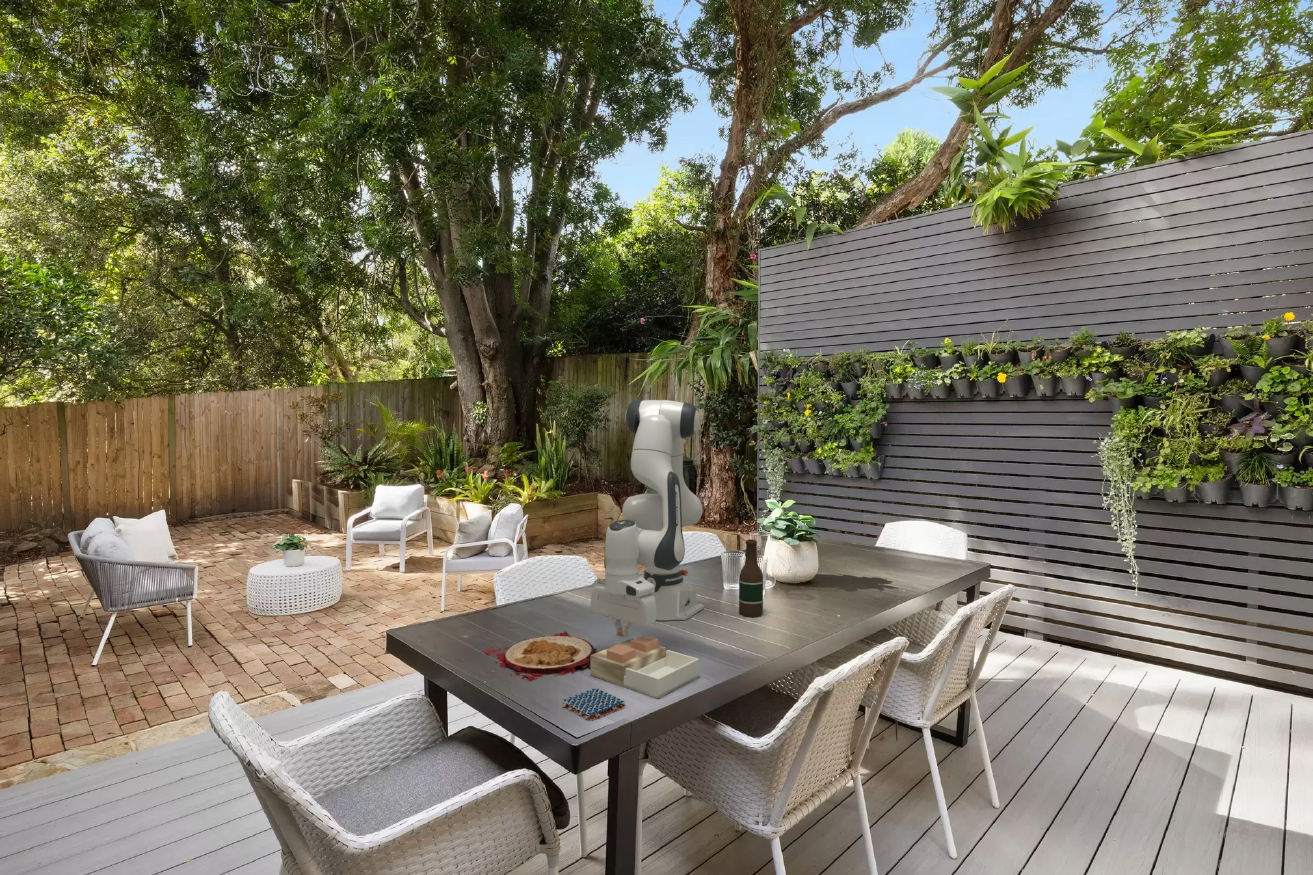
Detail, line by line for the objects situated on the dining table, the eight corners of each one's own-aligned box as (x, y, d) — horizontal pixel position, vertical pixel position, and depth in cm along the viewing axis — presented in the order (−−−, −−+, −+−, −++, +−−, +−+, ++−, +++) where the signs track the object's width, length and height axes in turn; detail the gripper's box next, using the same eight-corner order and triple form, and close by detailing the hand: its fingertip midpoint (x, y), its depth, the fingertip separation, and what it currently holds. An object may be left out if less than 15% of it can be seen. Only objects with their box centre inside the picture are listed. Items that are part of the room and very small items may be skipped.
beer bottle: (767, 613, 214) (768, 539, 213) (754, 619, 208) (754, 543, 207) (747, 609, 219) (748, 536, 218) (734, 614, 213) (734, 540, 212)
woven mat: (590, 724, 139) (590, 715, 139) (560, 708, 147) (560, 699, 147) (628, 709, 146) (628, 700, 146) (597, 694, 154) (597, 685, 154)
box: (665, 666, 169) (665, 649, 169) (699, 676, 163) (699, 658, 163) (623, 686, 157) (623, 667, 157) (658, 698, 150) (658, 679, 150)
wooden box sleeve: (633, 656, 176) (633, 638, 176) (665, 666, 169) (665, 647, 169) (590, 675, 164) (590, 655, 164) (623, 686, 157) (623, 665, 157)
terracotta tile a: (643, 642, 173) (643, 635, 172) (658, 647, 169) (658, 639, 169) (630, 648, 169) (630, 640, 169) (646, 652, 166) (646, 644, 165)
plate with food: (566, 638, 193) (566, 625, 193) (612, 664, 171) (612, 650, 171) (484, 656, 180) (483, 643, 180) (523, 687, 158) (522, 672, 158)
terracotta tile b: (620, 652, 166) (620, 644, 165) (635, 657, 162) (635, 649, 162) (606, 658, 162) (606, 650, 162) (621, 663, 159) (621, 654, 158)
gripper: (585, 579, 177) (585, 630, 178) (644, 591, 165) (644, 647, 165) (601, 575, 182) (601, 625, 183) (659, 586, 170) (659, 640, 170)
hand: (622, 635), depth 174 cm, fingers closed
